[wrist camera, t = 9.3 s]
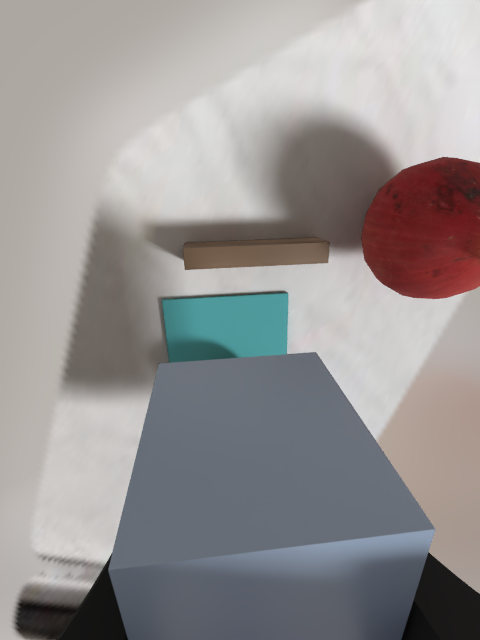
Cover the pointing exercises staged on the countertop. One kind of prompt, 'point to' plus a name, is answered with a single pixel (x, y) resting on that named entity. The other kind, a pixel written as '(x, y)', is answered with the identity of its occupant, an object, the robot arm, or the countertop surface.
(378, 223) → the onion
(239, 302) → the mark
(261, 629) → the matte gray cuboid
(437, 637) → the robot arm
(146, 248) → the countertop surface
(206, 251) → the brown cuboid
